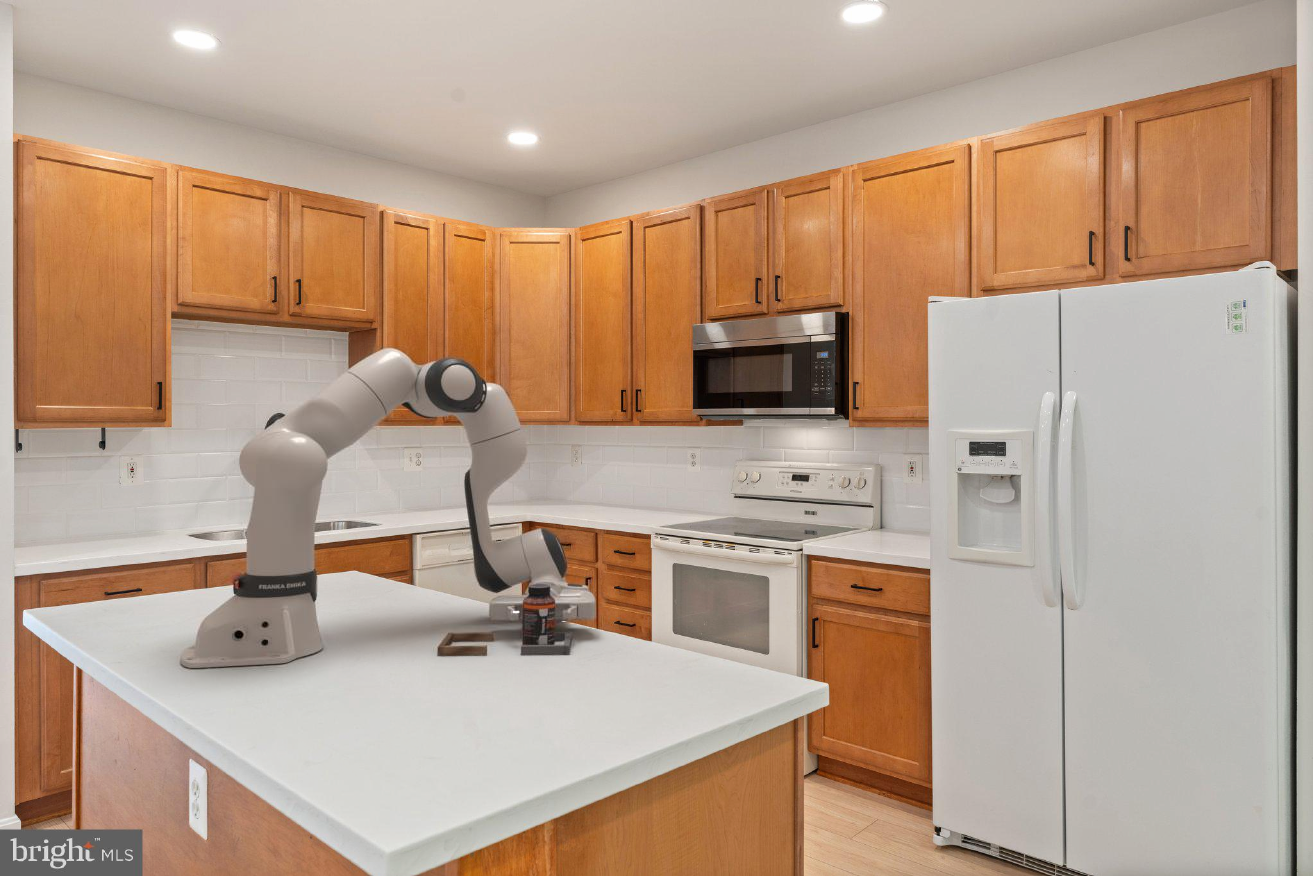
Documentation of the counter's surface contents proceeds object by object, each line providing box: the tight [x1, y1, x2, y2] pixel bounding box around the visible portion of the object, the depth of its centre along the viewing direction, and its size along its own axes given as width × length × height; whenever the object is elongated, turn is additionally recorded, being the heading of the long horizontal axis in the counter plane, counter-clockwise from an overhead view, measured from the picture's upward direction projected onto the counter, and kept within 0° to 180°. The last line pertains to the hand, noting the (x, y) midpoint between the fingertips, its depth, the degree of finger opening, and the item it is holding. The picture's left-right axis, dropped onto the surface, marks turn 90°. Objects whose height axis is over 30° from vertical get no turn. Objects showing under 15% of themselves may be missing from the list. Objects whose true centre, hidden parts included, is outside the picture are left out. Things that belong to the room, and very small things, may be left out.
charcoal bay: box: [520, 631, 572, 656], centre depth 155 cm, size 8×11×2 cm
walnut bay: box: [436, 631, 495, 657], centre depth 154 cm, size 8×11×2 cm
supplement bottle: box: [521, 584, 556, 645], centre depth 155 cm, size 6×6×11 cm
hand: (540, 616), depth 155 cm, fingers open, 8 cm apart
